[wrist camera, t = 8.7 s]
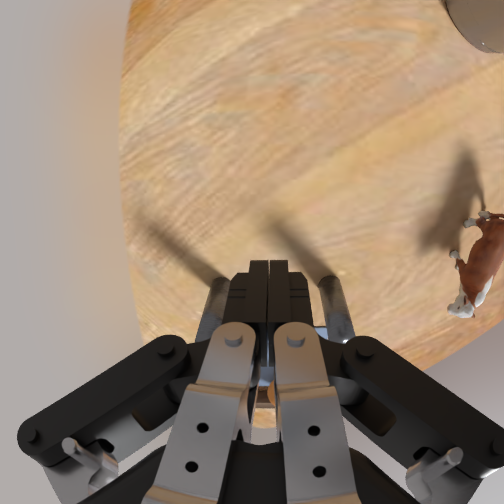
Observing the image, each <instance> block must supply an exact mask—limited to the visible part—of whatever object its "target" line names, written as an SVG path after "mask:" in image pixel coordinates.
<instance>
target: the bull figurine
mask: <svg viewBox="0 0 504 504" xmlns="http://www.w3.org/2000/svg"><path fill="white" fill-rule="evenodd" d="M478 215H479V216H480V218H478V219H473V218H470V217H469V220H465V221H464V223H463V226H464V227H465V228H467V227H470V226H474V225H475V226H478V227H479V228H480V229H481V230H482V232H483V236H482V238H480V239H479V240H476V242H475V244H474V245H473V247H472V249H471V251H470V254H469V258H468V261H467V264H465V263H464V261H463V259H461V258H460V256H459V252H457V250H455V251H454V252H453V251H452V252H451V253H450V255H449V256H450V257H451V258H455V259H456V260H457V265H456V269H457V270H459V274H460V288H459V295H458V296H457V298H456V300H455V302H454V303H453V304H449V305H448V307H447V309H448V313H449V314H450V315H452V314H453V315H456V316H458V317H460V318H466V317H472V318H475V315H474V313H473V311H474V309H475V308H476V307H478V306H479V305H480V304H481V303H482V302H483V301H484V299H485V296H486V293H487V292H488V290H489V289H490V287H491V285H492V282H493V279H494V277H495V275H496V273H497V271H498V269H499V267H500V265H501V263H502V261H503V259H504V220H502V219H499V217H501V218H504V214H492V213H490V212H489V211H480V212H479V213H478ZM486 219H489V221H486Z"/></svg>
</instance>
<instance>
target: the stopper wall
mask: <svg viewBox="0 0 504 504" xmlns="http://www.w3.org/2000/svg"><path fill="white" fill-rule="evenodd" d="M255 408H275V406H274V405H273V404H272V403H271V402H270V401H269V398H268V395H267V391H258V394H257V400H256V407H255Z"/></svg>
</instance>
